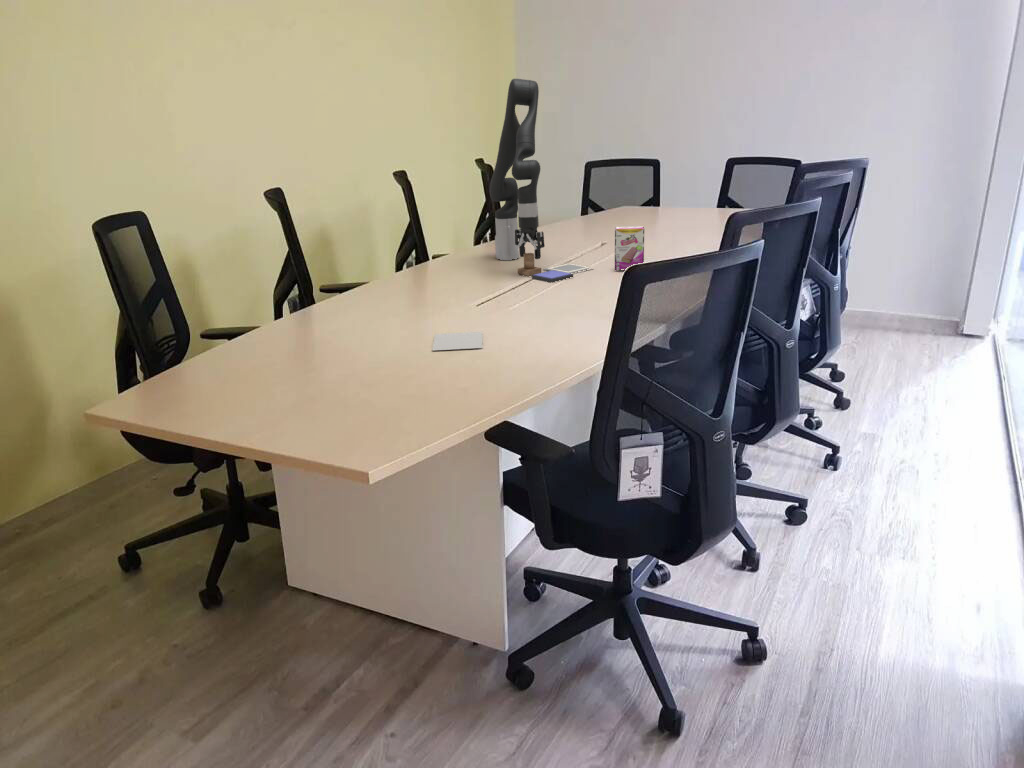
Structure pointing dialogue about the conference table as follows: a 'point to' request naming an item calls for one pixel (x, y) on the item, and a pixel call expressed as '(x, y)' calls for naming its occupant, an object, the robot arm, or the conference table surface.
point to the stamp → (529, 266)
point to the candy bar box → (628, 246)
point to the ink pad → (552, 276)
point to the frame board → (568, 268)
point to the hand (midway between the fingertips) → (530, 257)
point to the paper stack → (457, 341)
